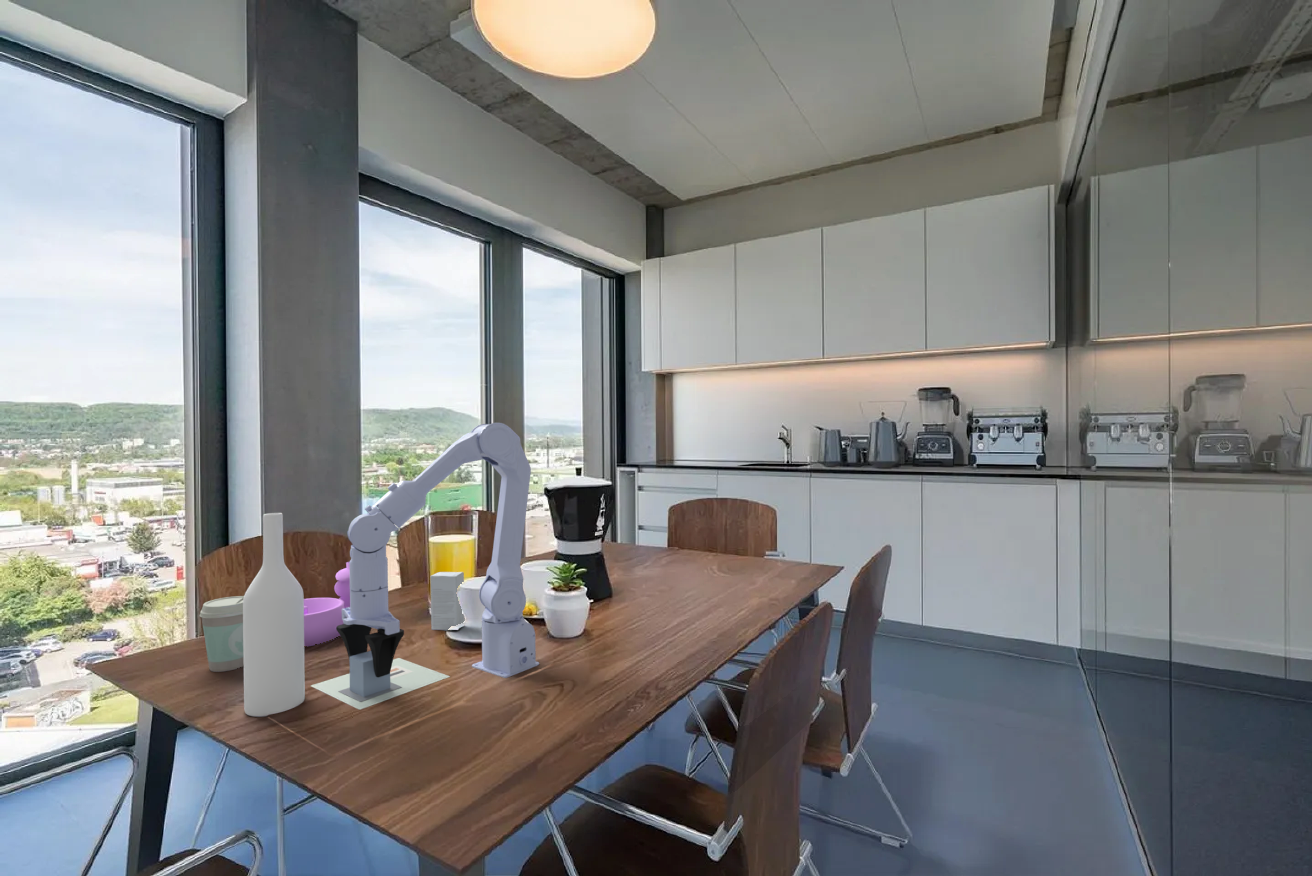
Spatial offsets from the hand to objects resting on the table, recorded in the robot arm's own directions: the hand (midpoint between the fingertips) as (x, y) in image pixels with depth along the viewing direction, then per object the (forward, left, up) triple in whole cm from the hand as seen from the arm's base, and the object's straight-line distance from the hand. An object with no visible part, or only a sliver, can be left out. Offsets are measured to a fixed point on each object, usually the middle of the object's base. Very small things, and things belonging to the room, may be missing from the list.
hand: (370, 670), depth 102 cm
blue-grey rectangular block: (0, 0, -3) cm, 3 cm away
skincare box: (+19, -28, -4) cm, 34 cm away
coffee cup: (+33, +9, -4) cm, 34 cm away
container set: (+41, -12, -4) cm, 43 cm away
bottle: (+7, +12, -4) cm, 14 cm away
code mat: (+2, -3, -3) cm, 5 cm away
